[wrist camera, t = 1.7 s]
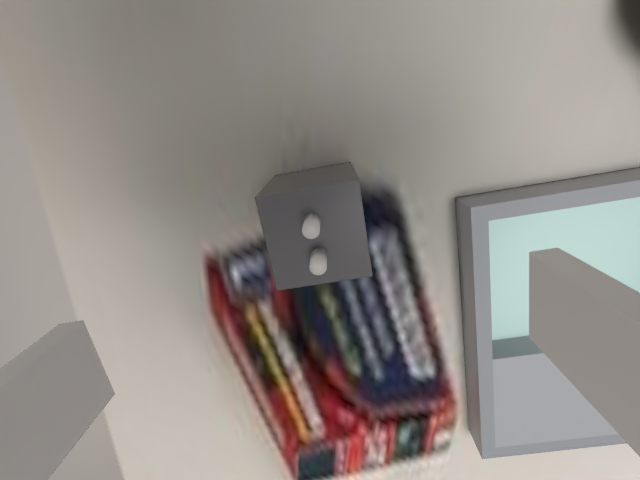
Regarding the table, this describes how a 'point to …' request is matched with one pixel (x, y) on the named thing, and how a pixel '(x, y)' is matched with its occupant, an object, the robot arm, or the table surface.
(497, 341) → the walled box
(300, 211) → the connector
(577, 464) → the table surface
